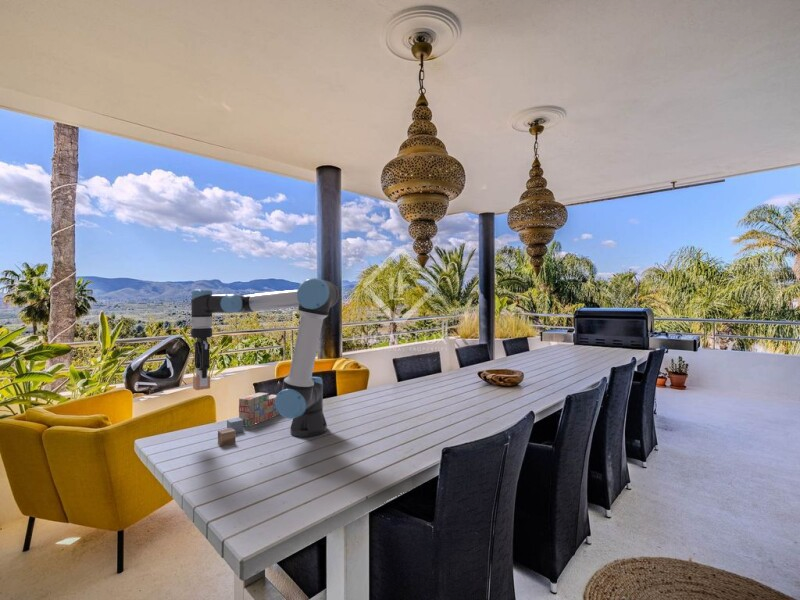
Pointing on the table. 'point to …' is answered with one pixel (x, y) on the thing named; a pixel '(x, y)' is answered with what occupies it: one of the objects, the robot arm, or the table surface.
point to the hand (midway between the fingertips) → (201, 384)
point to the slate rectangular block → (235, 424)
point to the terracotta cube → (197, 383)
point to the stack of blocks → (257, 408)
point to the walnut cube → (226, 437)
